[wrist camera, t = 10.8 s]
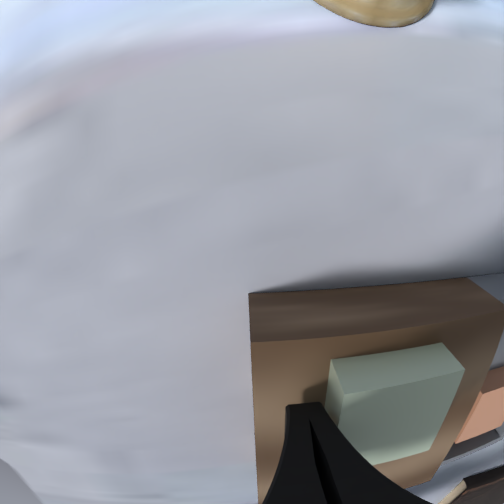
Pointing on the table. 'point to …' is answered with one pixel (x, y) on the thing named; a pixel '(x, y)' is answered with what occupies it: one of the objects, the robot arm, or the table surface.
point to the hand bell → (379, 11)
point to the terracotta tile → (486, 407)
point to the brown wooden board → (365, 343)
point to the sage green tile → (392, 399)
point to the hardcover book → (479, 489)
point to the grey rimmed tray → (500, 288)
